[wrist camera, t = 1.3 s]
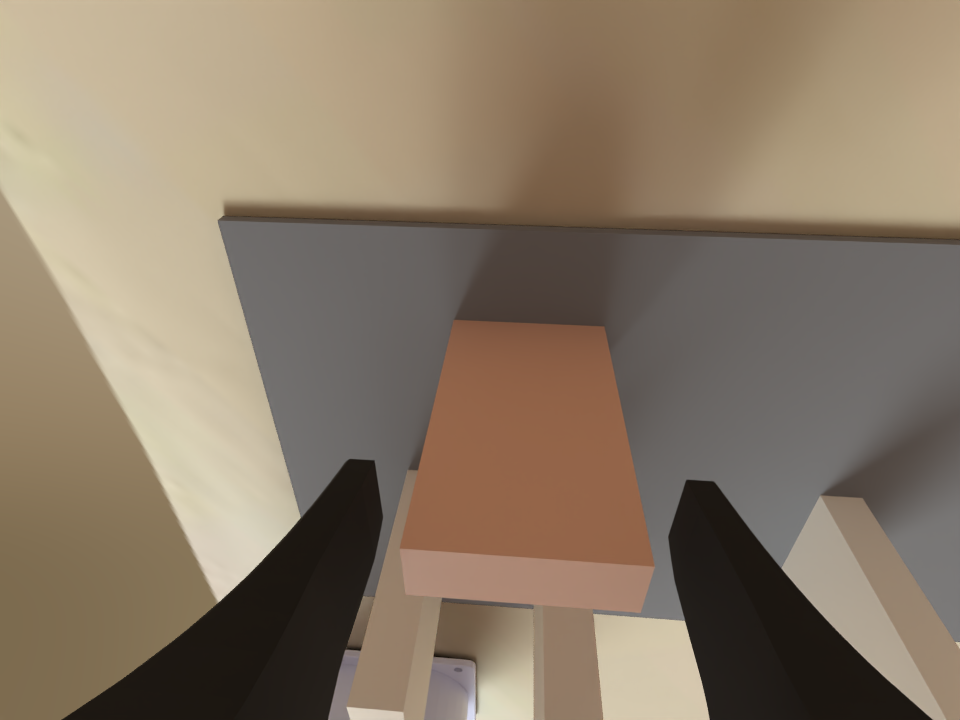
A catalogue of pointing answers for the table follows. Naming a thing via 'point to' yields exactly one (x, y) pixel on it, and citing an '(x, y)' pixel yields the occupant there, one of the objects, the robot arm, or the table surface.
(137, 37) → the table surface
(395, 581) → the domino
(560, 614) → the domino
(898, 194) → the table surface
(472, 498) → the domino
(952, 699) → the domino
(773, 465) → the slate mat
